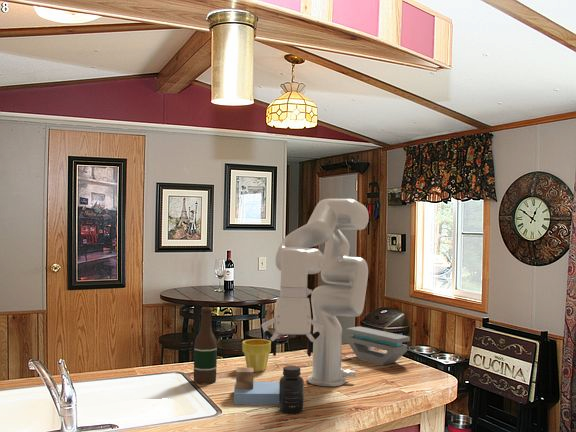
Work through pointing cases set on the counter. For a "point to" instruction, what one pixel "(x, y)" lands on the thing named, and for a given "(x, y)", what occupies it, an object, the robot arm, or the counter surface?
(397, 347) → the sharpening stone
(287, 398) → the supplement bottle
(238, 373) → the block
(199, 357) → the beer bottle
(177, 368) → the counter surface
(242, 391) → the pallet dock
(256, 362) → the plant pot
